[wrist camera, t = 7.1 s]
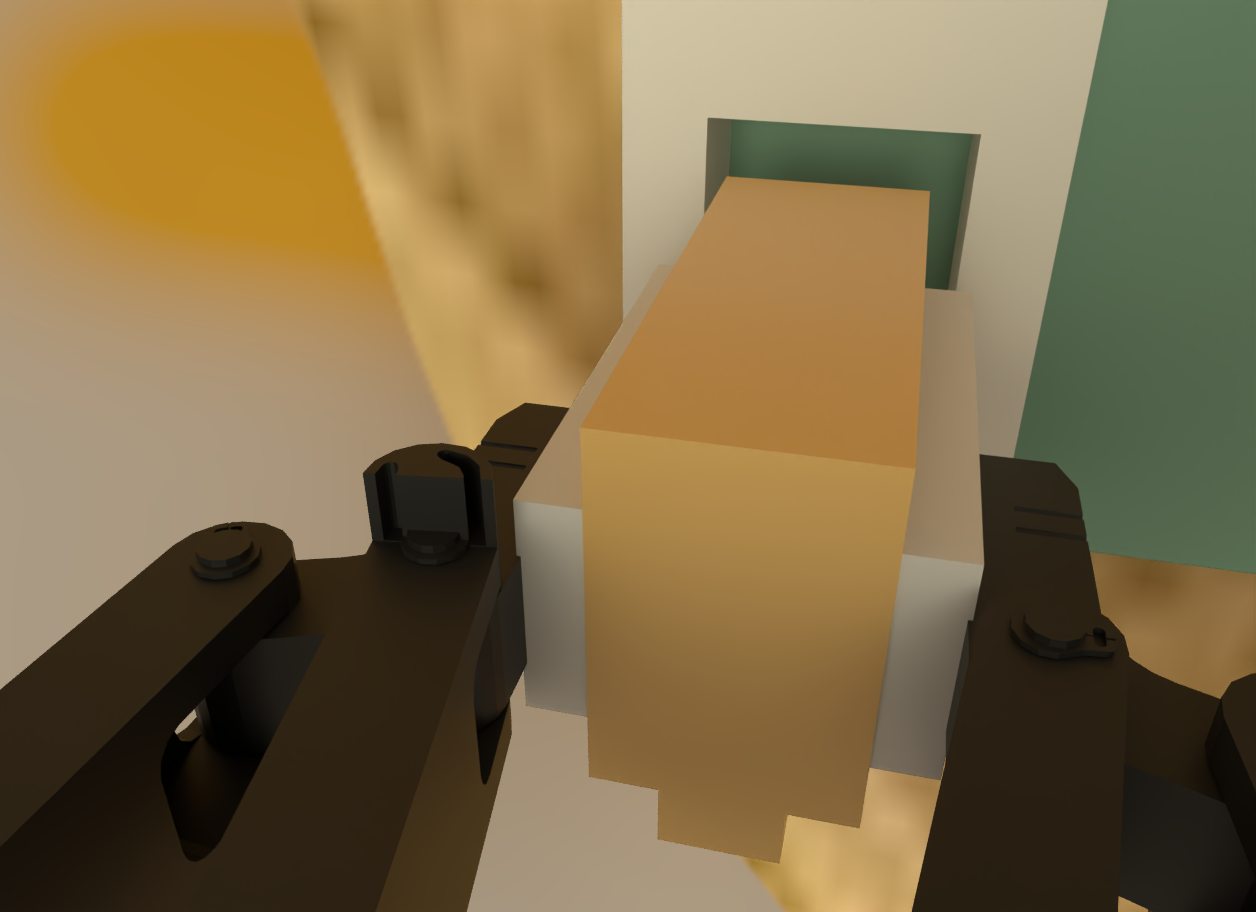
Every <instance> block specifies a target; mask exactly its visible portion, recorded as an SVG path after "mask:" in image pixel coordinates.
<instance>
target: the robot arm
mask: <svg viewBox="0 0 1256 912" xmlns="http://www.w3.org/2000/svg"><path fill="white" fill-rule="evenodd" d="M673 268H674V266H673V265H662V264H659V265H658V266H657V268H656V269H655V271H654V273H653V274H652V276H651V278H650V279H649V281H648V282H647V284H646V286H645V287H644V289H643V290H642V292H641V294H640V295H639V297H638V299H637V300H636V302H635V303H634V305H633V307H632V308H631V310H630V311H629V313H628V315H627V316H626V318H625V320H624V321H623V323H622V324H621V326H620V328H619V329H618V331H617V333H616V334H615V336H614V337H613V339H612V341H611V342H610V344H609V345H608V347H607V349H606V350H605V352H604V354H603V355H602V357H601V358H600V360H599V362H598V363H597V365H596V366H595V368H594V370H593V371H592V373H591V375H590V376H589V378H588V379H587V381H586V383H585V384H584V386H583V388H582V389H581V391H580V392H579V394H578V396H577V397H576V399H575V400H574V402H573V404H572V405H571V407H570V408H564V407H556V406H548V405H539V404H531V403H524V404H522V405H521V406H519V407H517V408H516V409H514V410H512V411H510V412H509V413H507V414H505V415H504V416H502V417H500V418H499V419H497V420H496V421H495V423H494V424H493V425H492V427H491V428H490V429H489V431H488V432H487V434H486V435H485V436H484V438H483V439H482V441H481V445H478V446H477V447H476V449H475V450H471V449H469V448H467V447H463V446H457V445H451V444H444V443H440V444H421V445H415V446H411V447H407V448H403V449H399V450H395V451H393V452H391V453H389V454H387V455H385V456H383V457H381V458H379V459H377V460H375V461H374V462H373V463H372V464H371V465H370V466H369V467H368V468H367V469H366V470H365V471H364V473H363V478H364V485H365V491H366V498H367V506H368V513H369V519H370V526H371V533H372V539H373V541H372V543H371V545H370V547H369V549H368V551H367V553H366V554H364V555H358V556H350V557H342V558H325V559H309V560H296V558H295V553H294V548H293V542H292V540H291V539H290V538H289V537H288V536H287V535H286V533H285V532H283V530H281V529H278V528H276V527H273V526H270V525H268V524H265V523H255V522H231V523H225V524H219V525H215V526H213V527H210V528H207V529H204V530H201V531H198V532H195V533H193V534H191V535H190V536H188V537H186V538H185V539H183V540H181V541H180V542H178V543H177V544H175V545H173V546H172V547H171V548H170V549H169V550H167V551H166V552H165V553H164V554H162V555H161V556H160V557H159V558H158V559H157V560H155V561H154V562H153V563H152V564H150V565H149V566H148V567H147V568H146V569H145V570H143V571H142V572H141V573H140V574H138V575H137V576H136V577H135V578H134V579H132V580H131V581H130V582H129V583H128V584H126V585H125V586H124V587H123V588H122V589H120V590H119V591H118V592H117V593H116V594H115V595H113V596H112V597H111V598H110V599H108V600H107V601H106V602H105V603H104V604H102V605H101V606H100V607H99V608H98V609H97V610H95V611H94V612H93V613H92V614H90V615H89V616H88V617H87V618H86V619H84V620H83V621H82V622H81V623H80V624H78V625H77V626H76V627H75V628H74V629H72V630H71V631H70V632H69V633H68V634H66V635H65V636H64V637H63V638H62V639H61V640H59V641H58V642H57V643H56V644H54V645H53V646H52V647H51V648H50V649H49V650H47V651H46V652H45V653H44V654H42V655H41V656H40V657H39V658H38V659H37V660H35V661H34V662H33V663H32V664H30V665H29V666H28V667H27V668H26V669H25V670H23V671H22V672H21V673H20V674H19V675H17V676H16V677H15V678H14V679H12V680H11V681H10V682H9V683H8V684H6V685H5V686H4V687H3V688H2V689H1V690H0V912H467V908H468V904H469V900H470V896H471V893H472V889H473V884H474V880H475V876H476V873H477V869H478V865H479V861H480V857H481V853H482V849H483V845H484V841H485V837H486V833H487V829H488V825H489V822H490V818H491V813H492V810H493V806H494V802H495V798H496V794H497V790H498V786H499V782H500V778H501V774H502V770H503V766H504V762H505V758H506V755H507V751H508V746H509V743H510V739H511V734H512V730H511V708H510V697H511V695H512V693H513V691H514V689H515V687H516V685H517V683H518V681H519V679H520V677H521V675H522V672H523V670H524V678H525V694H526V706H530V707H536V708H541V709H547V710H552V711H558V712H564V713H569V714H575V715H581V716H586V717H588V715H587V676H586V637H585V598H584V559H583V520H582V481H581V442H580V427H581V425H582V423H583V422H584V420H585V418H586V417H587V415H588V413H589V411H590V410H591V408H592V406H593V405H594V403H595V401H596V399H597V398H598V396H599V394H600V393H601V391H602V389H603V388H604V386H605V384H606V382H607V381H608V379H609V377H610V376H611V374H612V372H613V370H614V369H615V367H616V365H617V364H618V362H619V360H620V358H621V357H622V355H623V353H624V352H625V350H626V348H627V346H628V345H629V343H630V341H631V340H632V338H633V336H634V334H635V333H636V331H637V329H638V328H639V326H640V324H641V322H642V321H643V319H644V317H645V316H646V314H647V312H648V310H649V309H650V307H651V305H652V304H653V302H654V300H655V298H656V297H657V295H658V293H659V292H660V290H661V288H662V286H663V285H664V283H665V281H666V280H667V278H668V276H669V274H670V273H671V271H672V269H673ZM1082 518H1083V512H1082V506H1081V501H1080V496H1079V490H1078V488H1077V486H1076V485H1075V484H1074V483H1073V482H1072V481H1071V480H1070V479H1069V478H1068V476H1067V475H1066V474H1065V473H1064V472H1063V471H1062V470H1061V469H1060V468H1059V467H1058V465H1057V464H1056V463H1050V462H1042V461H1034V460H1025V459H1017V458H1008V457H1000V456H992V455H983V454H979V435H978V412H977V389H976V366H975V342H974V319H973V296H972V292H962V291H951V290H940V289H929V288H925V297H924V316H923V336H922V355H921V375H920V394H919V414H918V433H917V453H916V470H915V476H914V483H913V489H912V496H911V502H910V509H909V515H908V521H907V528H906V534H905V541H904V547H903V554H902V560H901V566H900V573H899V579H898V586H897V592H896V599H895V605H894V611H893V618H892V624H891V631H890V637H889V644H888V650H887V656H886V663H885V669H884V676H883V682H882V689H881V695H880V701H879V708H878V714H877V721H876V727H875V734H874V740H873V746H872V753H871V759H870V766H869V767H870V768H875V769H881V770H887V771H892V772H898V773H903V774H909V775H914V776H920V777H926V778H931V779H937V780H941V776H942V771H943V766H944V761H945V756H946V763H945V768H944V772H943V777H942V781H941V785H940V790H939V794H938V799H937V803H936V807H935V812H934V816H933V820H932V825H931V829H930V834H929V838H928V842H927V847H926V851H925V856H924V860H923V864H922V869H921V873H920V877H919V882H918V886H917V891H916V895H915V899H914V904H913V908H912V912H1118V897H1119V896H1120V897H1122V898H1125V899H1127V900H1129V901H1131V902H1133V903H1136V904H1138V905H1140V906H1142V907H1144V908H1146V909H1148V912H1256V673H1255V674H1250V675H1248V676H1245V677H1243V678H1240V679H1238V680H1235V681H1233V682H1231V684H1230V685H1229V687H1228V688H1227V690H1226V691H1225V693H1224V694H1223V696H1222V697H1221V699H1219V698H1216V697H1213V696H1210V695H1208V694H1205V693H1202V692H1199V691H1197V690H1194V689H1191V688H1188V687H1186V686H1183V685H1180V684H1177V683H1175V682H1173V681H1170V680H1168V679H1166V678H1164V677H1161V676H1159V675H1157V674H1154V673H1153V672H1151V671H1149V670H1148V669H1146V668H1145V667H1143V666H1141V665H1140V664H1138V663H1136V662H1135V661H1133V660H1132V659H1131V658H1130V657H1129V652H1128V648H1127V645H1126V641H1125V638H1124V635H1123V634H1122V633H1121V632H1120V631H1119V630H1118V629H1117V627H1116V626H1115V625H1114V624H1113V623H1112V622H1111V621H1110V620H1109V618H1107V617H1105V616H1104V615H1102V614H1101V610H1100V605H1099V599H1098V594H1097V588H1096V583H1095V577H1094V572H1093V566H1092V561H1091V556H1090V550H1089V545H1088V541H1086V538H1087V534H1086V528H1085V523H1084V520H1082ZM194 709H195V712H196V716H197V717H196V718H195V719H194V720H193V722H192V723H191V724H190V725H189V726H188V727H187V728H186V729H185V730H183V731H181V732H180V733H179V734H176V733H175V730H176V728H177V727H178V726H179V724H180V723H181V722H182V721H183V720H184V719H185V718H186V717H187V716H188V715H189V714H190V713H191V712H192V711H193V710H194Z"/></svg>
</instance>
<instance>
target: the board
mask: <svg viewBox="0 0 1256 912" xmlns="http://www.w3.org/2000/svg"><path fill="white" fill-rule="evenodd" d="M727 176H729V177H743V178H756V179H770V180H784V181H798V182H812V183H826V184H840V185H853V186H867V187H881V188H895V189H909V190H923V191H930V199H929V219H928V238H927V258H926V277H925V288H929V289H940V290H951V291H962V292H972V296H973V319H974V342H975V366H976V389H977V412H978V435H979V454H983V455H992V456H1000V457H1008V458H1017V459H1025V460H1034V461H1042V462H1050V463H1056V464H1057V465H1058V467H1059V468H1060V469H1061V470H1062V471H1063V472H1064V473H1065V474H1066V475H1067V476H1068V478H1069V479H1070V480H1071V481H1072V482H1073V483H1074V484H1075V485H1076V486H1077V488H1078V490H1079V496H1080V501H1081V506H1082V512H1083V518H1082V520H1084V523H1085V528H1086V534H1087V538H1086V541H1088V545H1089V550H1090V552H1097V553H1104V554H1112V555H1119V556H1126V557H1134V558H1141V559H1149V560H1156V561H1163V562H1171V563H1178V564H1185V565H1193V566H1200V567H1208V568H1215V569H1222V570H1230V571H1237V572H1245V573H1252V574H1256V0H622V200H623V321H624V320H625V318H626V316H627V315H628V313H629V311H630V310H631V308H632V307H633V305H634V303H635V302H636V300H637V299H638V297H639V295H640V294H641V292H642V290H643V289H644V287H645V286H646V284H647V282H648V281H649V279H650V278H651V276H652V274H653V273H654V271H655V269H656V268H657V266H658V265H659V264H662V265H673V266H675V264H676V262H677V261H678V259H679V257H680V256H681V254H682V252H683V250H684V249H685V247H686V245H687V244H688V242H689V240H690V238H691V237H692V235H693V233H694V232H695V230H696V228H697V226H698V225H699V223H700V221H701V220H702V218H703V216H704V214H705V213H706V211H707V209H708V208H709V206H710V204H711V202H712V201H713V199H714V197H715V196H716V194H717V192H718V190H719V189H720V187H721V185H722V184H723V182H724V180H725V179H726V177H727Z"/></svg>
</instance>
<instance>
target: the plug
mask: <svg viewBox="0 0 1256 912" xmlns="http://www.w3.org/2000/svg"><path fill="white" fill-rule="evenodd" d="M929 199H930V191H923V190H909V189H895V188H881V187H867V186H853V185H840V184H826V183H812V182H798V181H784V180H770V179H756V178H743V177H729V176H727V177H726V179H725V180H724V182H723V184H722V185H721V187H720V189H719V190H718V192H717V194H716V196H715V197H714V199H713V201H712V202H711V204H710V206H709V208H708V209H707V211H706V213H705V214H704V216H703V218H702V220H701V221H700V223H699V225H698V226H697V228H696V230H695V232H694V233H693V235H692V237H691V238H690V240H689V242H688V244H687V245H686V247H685V249H684V250H683V252H682V254H681V256H680V257H679V259H678V261H677V262H676V264H675V266H674V268H673V269H672V271H671V273H670V274H669V276H668V278H667V280H666V281H665V283H664V285H663V286H662V288H661V290H660V292H659V293H658V295H657V297H656V298H655V300H654V302H653V304H652V305H651V307H650V309H649V310H648V312H647V314H646V316H645V317H644V319H643V321H642V322H641V324H640V326H639V328H638V329H637V331H636V333H635V334H634V336H633V338H632V340H631V341H630V343H629V345H628V346H627V348H626V350H625V352H624V353H623V355H622V357H621V358H620V360H619V362H618V364H617V365H616V367H615V369H614V370H613V372H612V374H611V376H610V377H609V379H608V381H607V382H606V384H605V386H604V388H603V389H602V391H601V393H600V394H599V396H598V398H597V399H596V401H595V403H594V405H593V406H592V408H591V410H590V411H589V413H588V415H587V417H586V418H585V420H584V422H583V423H582V425H581V427H580V442H581V481H582V520H583V559H584V598H585V637H586V676H587V715H588V754H589V777H594V778H599V779H604V780H609V781H614V782H620V783H625V784H630V785H635V786H640V787H646V788H651V789H656V790H659V793H658V794H659V795H658V839H659V840H664V841H669V842H674V843H680V844H685V845H690V846H694V847H699V848H704V849H710V850H714V851H719V852H724V853H729V854H734V855H739V856H744V857H749V858H754V859H759V860H764V861H769V862H774V863H779V864H780V858H781V852H782V846H783V839H784V833H785V827H786V821H787V815H792V816H797V817H803V818H808V819H813V820H818V821H824V822H829V823H834V824H839V825H845V826H850V827H855V828H860V824H861V817H862V811H863V804H864V798H865V791H866V785H867V779H868V772H869V766H870V759H871V753H872V746H873V740H874V734H875V727H876V721H877V714H878V708H879V701H880V695H881V689H882V682H883V676H884V669H885V663H886V656H887V650H888V644H889V637H890V631H891V624H892V618H893V611H894V605H895V599H896V592H897V586H898V579H899V573H900V566H901V560H902V554H903V547H904V541H905V534H906V528H907V521H908V515H909V509H910V502H911V496H912V489H913V483H914V476H915V470H916V453H917V433H918V414H919V394H920V375H921V355H922V336H923V316H924V297H925V277H926V258H927V238H928V219H929Z"/></svg>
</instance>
